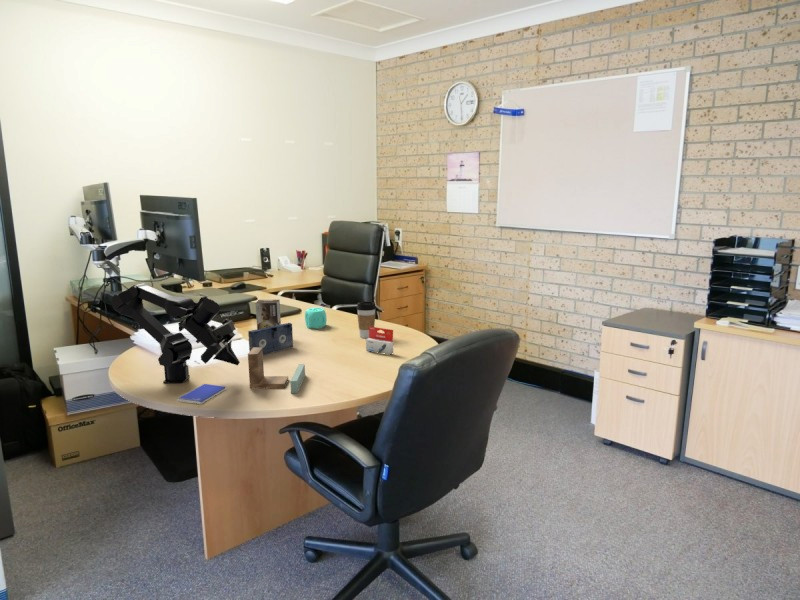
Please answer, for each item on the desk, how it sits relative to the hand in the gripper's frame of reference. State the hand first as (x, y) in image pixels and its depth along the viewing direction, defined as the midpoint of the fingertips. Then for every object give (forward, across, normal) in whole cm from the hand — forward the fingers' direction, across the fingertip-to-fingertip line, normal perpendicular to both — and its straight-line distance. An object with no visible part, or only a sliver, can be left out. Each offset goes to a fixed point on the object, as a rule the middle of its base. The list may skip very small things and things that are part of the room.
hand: (238, 363), depth 174 cm
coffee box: (+3, +54, +7) cm, 55 cm away
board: (+18, 0, -8) cm, 20 cm away
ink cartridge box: (+37, +34, -26) cm, 56 cm away
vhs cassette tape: (+7, +35, +3) cm, 36 cm away
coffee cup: (+32, +57, -22) cm, 69 cm away
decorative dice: (+15, +73, -5) cm, 75 cm away
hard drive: (-1, -9, +12) cm, 15 cm away
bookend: (+12, 0, -2) cm, 12 cm away
